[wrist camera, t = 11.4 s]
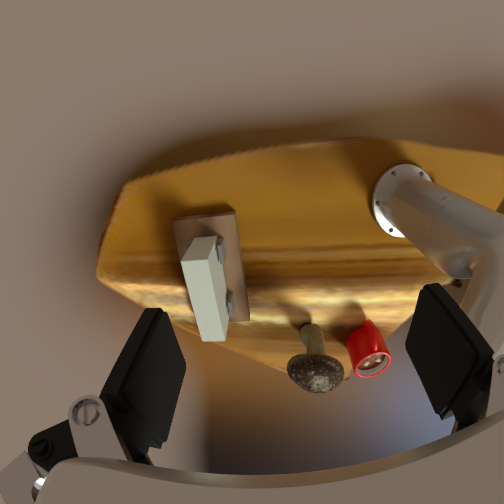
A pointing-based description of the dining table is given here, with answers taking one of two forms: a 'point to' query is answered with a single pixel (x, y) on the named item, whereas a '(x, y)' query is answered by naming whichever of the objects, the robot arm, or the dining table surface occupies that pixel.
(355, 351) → the mug
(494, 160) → the dining table surface
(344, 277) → the dining table surface
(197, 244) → the pale grey rectangular block
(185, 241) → the board
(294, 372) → the mushroom
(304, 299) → the dining table surface
